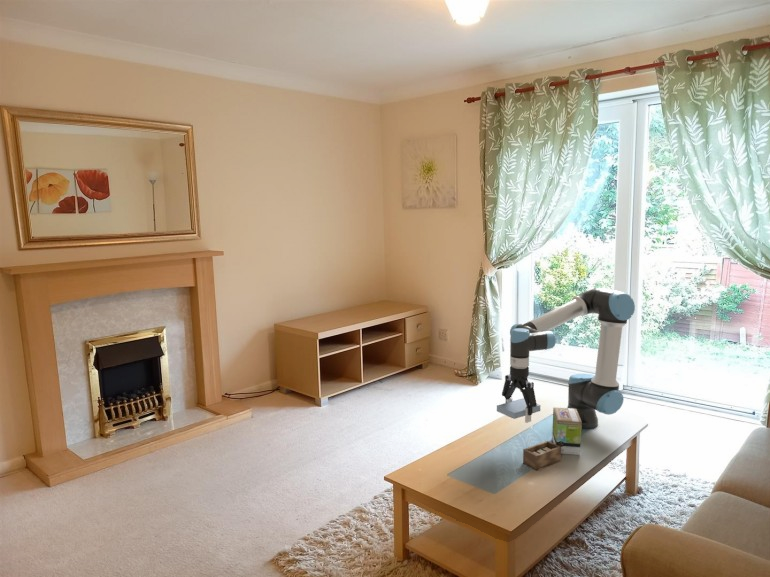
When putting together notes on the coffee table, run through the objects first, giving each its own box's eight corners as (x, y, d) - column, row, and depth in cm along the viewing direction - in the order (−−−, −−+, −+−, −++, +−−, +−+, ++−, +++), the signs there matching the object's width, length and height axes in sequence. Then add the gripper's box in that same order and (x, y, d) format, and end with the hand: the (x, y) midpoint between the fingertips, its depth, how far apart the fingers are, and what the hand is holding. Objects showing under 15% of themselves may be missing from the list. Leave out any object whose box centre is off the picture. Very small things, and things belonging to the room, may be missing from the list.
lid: (522, 405, 228) (522, 398, 228) (540, 412, 220) (540, 405, 219) (496, 413, 221) (496, 405, 220) (514, 420, 212) (514, 413, 212)
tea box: (581, 455, 217) (582, 421, 215) (555, 453, 219) (556, 420, 217) (575, 439, 231) (576, 407, 229) (551, 438, 233) (552, 406, 231)
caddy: (547, 454, 218) (547, 440, 218) (560, 460, 213) (561, 446, 212) (523, 463, 211) (523, 449, 210) (536, 470, 205) (536, 456, 204)
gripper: (493, 361, 225) (492, 411, 228) (533, 374, 206) (532, 428, 209) (506, 358, 229) (505, 407, 232) (547, 371, 210) (545, 424, 213)
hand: (518, 417), depth 221 cm, fingers closed on lid, 10 cm apart
